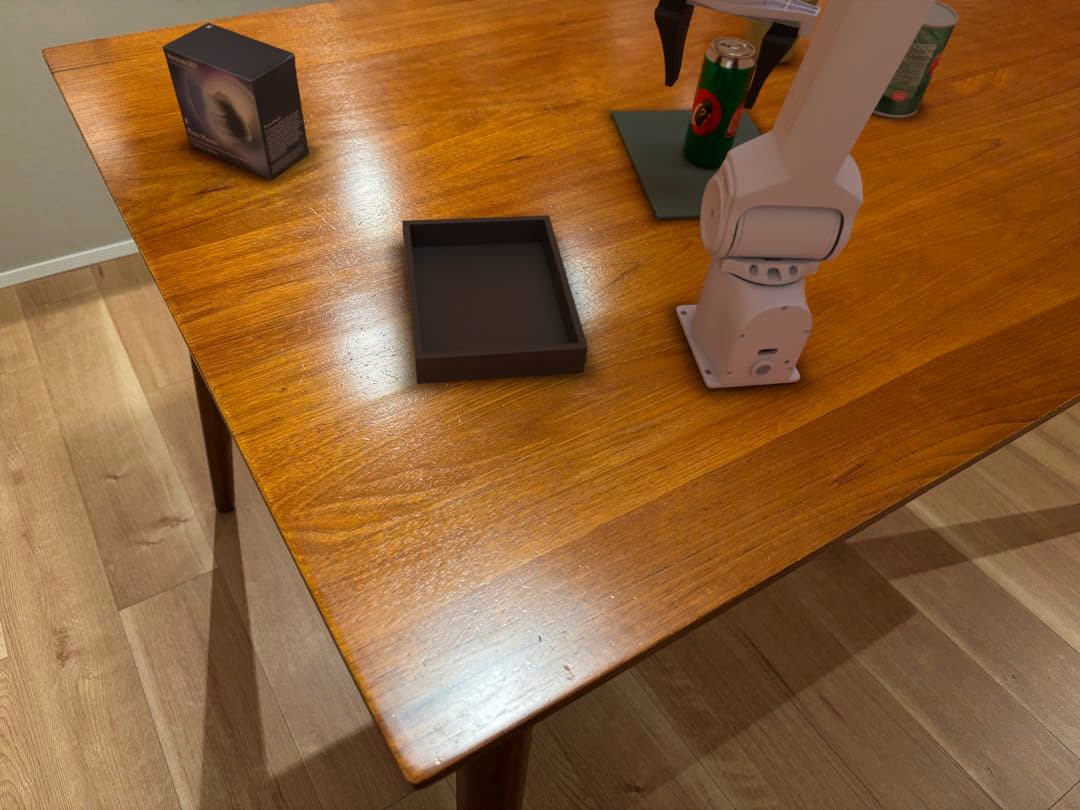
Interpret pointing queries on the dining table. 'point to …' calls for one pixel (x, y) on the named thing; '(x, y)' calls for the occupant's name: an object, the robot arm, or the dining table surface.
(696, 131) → the soda can
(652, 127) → the mat
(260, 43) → the small box
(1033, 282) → the dining table surface
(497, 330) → the tray
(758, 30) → the plant pot
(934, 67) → the canned tomato
